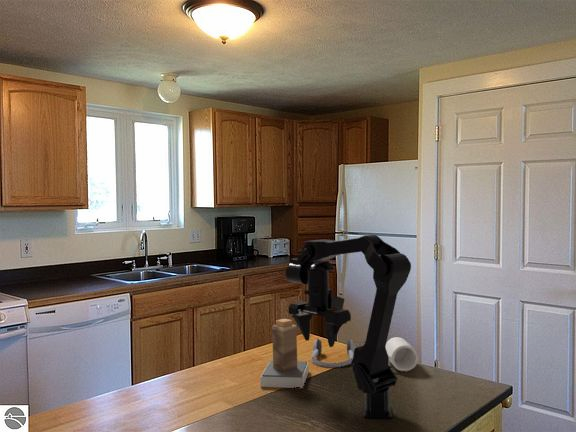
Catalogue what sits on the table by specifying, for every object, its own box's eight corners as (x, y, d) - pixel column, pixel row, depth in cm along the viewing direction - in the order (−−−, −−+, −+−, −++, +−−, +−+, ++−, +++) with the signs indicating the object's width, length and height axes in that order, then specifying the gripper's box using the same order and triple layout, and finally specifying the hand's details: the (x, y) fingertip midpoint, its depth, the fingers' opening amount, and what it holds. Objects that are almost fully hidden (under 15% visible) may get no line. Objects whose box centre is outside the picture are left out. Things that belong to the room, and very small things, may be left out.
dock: (302, 388, 139) (302, 376, 139) (260, 386, 141) (260, 375, 141) (308, 371, 153) (308, 361, 153) (269, 370, 155) (269, 360, 155)
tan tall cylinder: (297, 368, 147) (296, 325, 147) (284, 372, 144) (283, 328, 143) (286, 364, 151) (285, 322, 150) (273, 368, 147) (272, 325, 147)
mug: (409, 361, 161) (408, 336, 161) (418, 371, 151) (417, 345, 151) (372, 362, 161) (371, 337, 161) (378, 372, 151) (378, 346, 151)
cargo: (292, 325, 147) (292, 320, 147) (283, 327, 145) (283, 322, 145) (284, 323, 149) (284, 318, 149) (275, 325, 147) (275, 320, 147)
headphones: (315, 345, 178) (307, 373, 159) (314, 330, 177) (306, 356, 158) (365, 347, 175) (363, 375, 156) (364, 331, 174) (363, 358, 154)
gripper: (364, 286, 134) (365, 344, 135) (315, 279, 148) (316, 332, 149) (335, 291, 127) (336, 353, 127) (286, 283, 141) (287, 339, 141)
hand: (319, 343), depth 136 cm, fingers open, 9 cm apart
